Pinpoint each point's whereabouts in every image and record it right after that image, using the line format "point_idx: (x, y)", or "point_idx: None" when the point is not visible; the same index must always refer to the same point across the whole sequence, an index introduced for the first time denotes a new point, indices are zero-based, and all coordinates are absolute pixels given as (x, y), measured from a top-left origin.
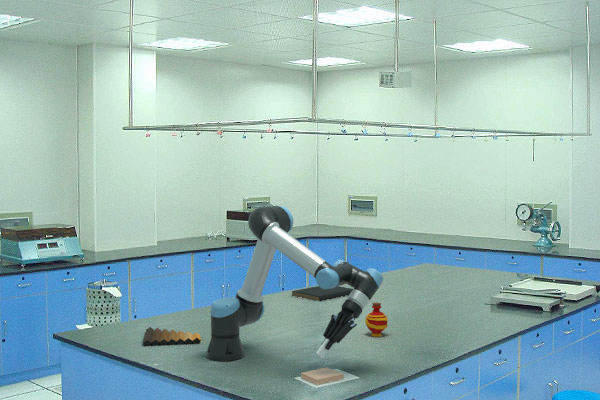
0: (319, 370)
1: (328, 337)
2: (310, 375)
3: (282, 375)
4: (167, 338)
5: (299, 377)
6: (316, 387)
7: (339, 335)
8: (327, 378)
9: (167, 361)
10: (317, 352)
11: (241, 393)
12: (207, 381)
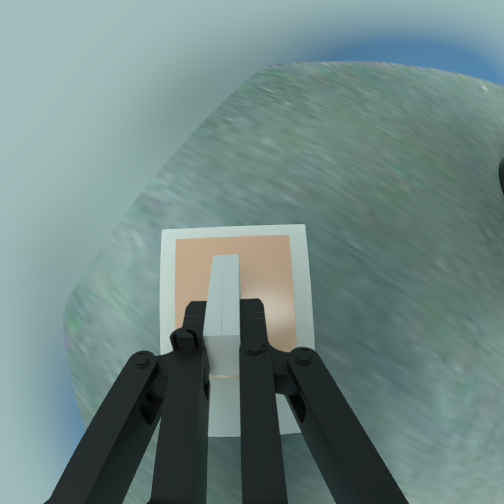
0: (275, 320)
1: (195, 332)
2: (236, 247)
3: (362, 220)
4: None
5: (298, 243)
6: (164, 232)
7: (111, 396)
8: (175, 291)
9: (497, 105)
10: (227, 257)
11: (263, 73)
12: (377, 71)
